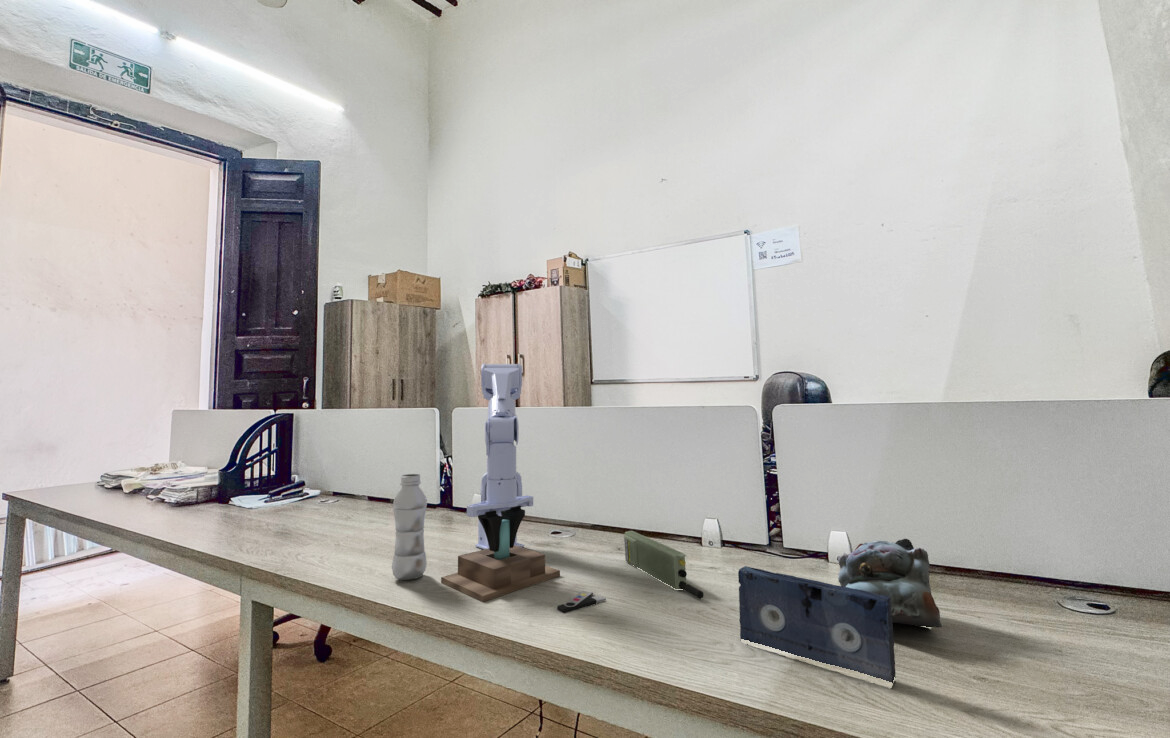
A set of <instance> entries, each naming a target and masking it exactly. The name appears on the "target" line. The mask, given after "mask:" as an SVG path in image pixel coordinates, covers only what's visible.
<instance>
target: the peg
mask: <svg viewBox="0 0 1170 738" xmlns="http://www.w3.org/2000/svg"><path fill="white" fill-rule="evenodd" d="M509 557H510V520H504V519H503V520H502V523H501V527H500V535H499V551H498V552H494V559H497V560H502V559H505V558H509Z"/></svg>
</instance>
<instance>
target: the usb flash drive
mask: <svg viewBox="0 0 1170 738" xmlns="http://www.w3.org/2000/svg"><path fill="white" fill-rule="evenodd" d="M604 600H606V601H607V599H606V597H605V596H602V595H600V594H599V595H595V594H594V592H593V591H585V590H582V591H580V592H579V593H577V594H576V595H574V596H573V597H572V598H571V599H569V600H568V601H566V602H565V603H562V604H559V605H557V606H556V610H557V611H559V612H561V613H563V614H566V613H570V612H574V611H577V610H580V609H584V608H587V607H591V605H592V606H595V605H597V604H599V603H598V602H600V603H602V602H601V601H604ZM604 602H605V601H604ZM596 603H597V604H596ZM594 604H595V605H594Z"/></svg>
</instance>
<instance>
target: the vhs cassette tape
mask: <svg viewBox="0 0 1170 738" xmlns="http://www.w3.org/2000/svg"><path fill="white" fill-rule="evenodd" d="M737 572H738V584H739V586H738V602H739V603H738V604H739V607H738V608H739V610H738V611H739V626H740V628H739V632H740V633H739V638H740V640H741V639H744V640H749V641H750V642H754V643H758V644H762V645H765V646H769V647H772V648H775V649H779V650H781V651H785V652H788V653H791V654H794V655H797V656H801V657H805V658H809V659H812V660H815V661H819V662H822V663H826V664H830V665H835V666H839V667H842V668H846V669H850V670H854V671H858V672H860V673H864V674H867V675H870V676H873V677H876V678H881V679H883V680H886V681H889V682H892V683H893V680H894V677H895V678H896V660H895V658H896V657H895V640H894V639H895V638H894V623H892V618H891V596H887V595H879V594H875V593H871V592H867V591H863V590H858V589H852V588H848V587H843V586H841V585H836V584H831V583H827V582H823V581H819V580H815V579H809V578H805V577H799V576H798V577H797V576H794V575H789V574H783V573H778V572H772V571H769V570H764V569H761V568H757V567H756V568H755V567H752V566H747V565H744V566H743V567H740V568H739V569H738V571H737Z"/></svg>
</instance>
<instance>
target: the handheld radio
mask: <svg viewBox="0 0 1170 738" xmlns="http://www.w3.org/2000/svg"><path fill="white" fill-rule="evenodd" d="M623 537H624V538H623V539H624V540H623V541H624V556H625V562H626V561H627V562H628V563H627V562H626V563H627V564H629V563H630V564H632V565H634V566H635V567H634V566H633V567H634V568H636V567H638V568H640V569H642V570H643V571H645V572H647V573H648V574H650V575H652V576H653V577H655V578H657V579H659V580H661V581H662V582H664V583H666V584H668V585H670V586H672V587H673V588H675V589H683V590H682V591H685V592H687V593H689V594H691V595H692V596H694V597H695V598H698V599H699V600H701V598H702V599H704V591H702V590H700V589H699V588H696V587H695V586H693V585H691V584H689V583H687V575H688V573H687V571H686V557H687V554H686V553H684V552H681V551H679V550H676V549H675V548H672V547H670V546H668V545H666V544H663V543H661V542H658V541H656V540H654V539H652V538H650V537H648V536H645V535H644V534H643V535H642V534H640V533H638V532H637V531H634V530H628V531H625V532H624V536H623ZM630 564H629V565H630ZM632 565H631V566H632ZM648 574H647V575H648ZM653 577H652V578H653ZM655 578H654V579H655Z"/></svg>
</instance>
